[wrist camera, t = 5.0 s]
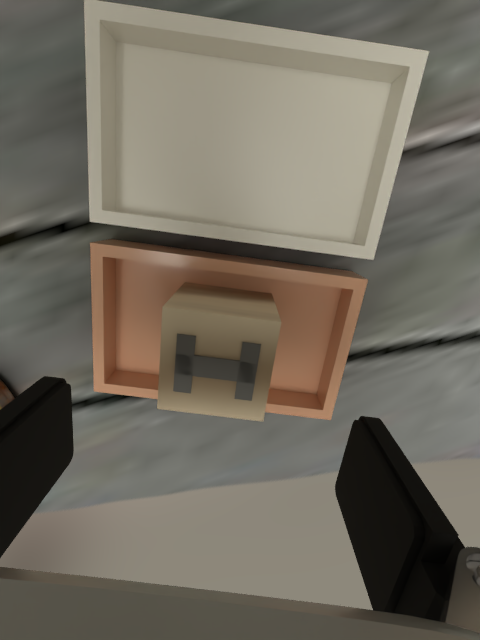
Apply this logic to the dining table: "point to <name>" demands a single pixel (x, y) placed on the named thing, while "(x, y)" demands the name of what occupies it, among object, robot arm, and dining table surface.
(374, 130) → the tray
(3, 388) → the sauce bottle
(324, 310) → the tray
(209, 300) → the letter cube
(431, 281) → the dining table surface
